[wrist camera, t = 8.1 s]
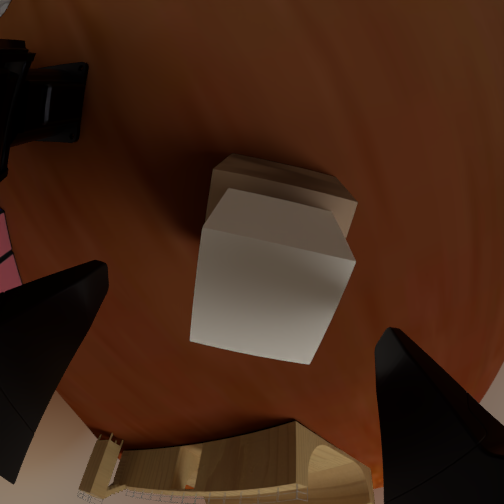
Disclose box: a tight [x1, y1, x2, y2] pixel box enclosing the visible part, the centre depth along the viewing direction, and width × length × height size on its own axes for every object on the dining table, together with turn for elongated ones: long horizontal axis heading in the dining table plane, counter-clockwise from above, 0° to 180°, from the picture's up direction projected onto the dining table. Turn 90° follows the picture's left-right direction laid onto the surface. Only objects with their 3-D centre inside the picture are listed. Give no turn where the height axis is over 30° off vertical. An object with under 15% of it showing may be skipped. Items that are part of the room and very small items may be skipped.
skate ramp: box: [78, 421, 375, 504], centre depth 35 cm, size 40×35×16 cm
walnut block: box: [205, 153, 358, 239], centre depth 17 cm, size 7×7×6 cm
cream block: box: [190, 188, 356, 364], centre depth 12 cm, size 5×5×5 cm
